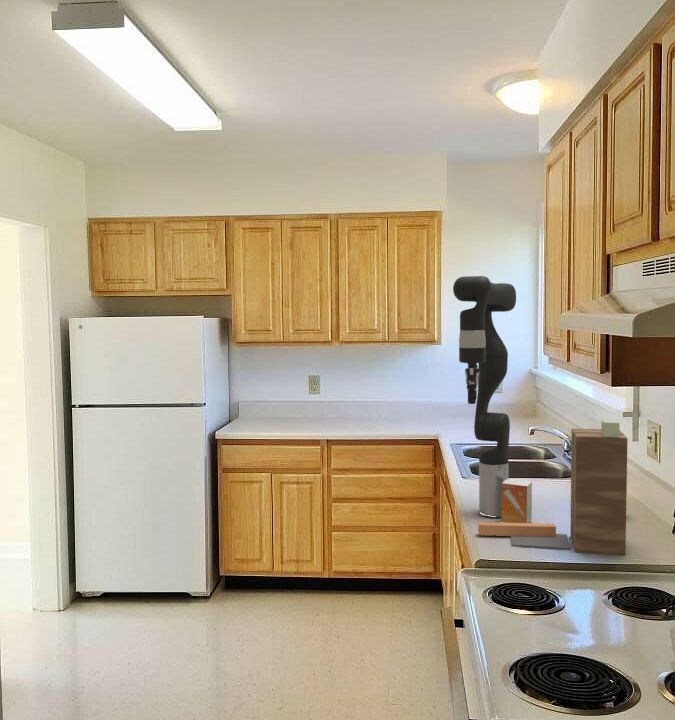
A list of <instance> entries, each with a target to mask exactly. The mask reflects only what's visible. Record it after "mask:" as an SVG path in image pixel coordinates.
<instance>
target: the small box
mask: <svg viewBox="0 0 675 720" xmlns="http://www.w3.org/2000/svg"><path fill="white" fill-rule="evenodd" d="M532 490H533V481H529V480H521V479H509V478H508V479H506V480H505V481H504V482H503V483H502V502H501V518H500V519H501V521H500V523H501V522H503V523H530V522H531V523H532V514H533V513H532V511H533V510H532V507H533V501H532V500H533V492H532Z"/></svg>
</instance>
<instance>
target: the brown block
mask: <svg viewBox="0 0 675 720" xmlns="http://www.w3.org/2000/svg"><path fill="white" fill-rule="evenodd" d="M477 532H479V534H483V535H482V536H493V535H496V536H499V537H500V536H501V537H507V536H508V537H511V536H539V537H556V534H557V526H556V525H555V523H549V522H548V523H546V522H543V523H541V522H540V523H538V522H535V523H534V522H531V523H501V522H499V521H498V522H494V521H493V522H492V521H490V522H489V521H488V522H487V521H478V522H477ZM479 534H478V535H479Z"/></svg>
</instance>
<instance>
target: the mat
mask: <svg viewBox="0 0 675 720" xmlns="http://www.w3.org/2000/svg"><path fill="white" fill-rule="evenodd" d="M510 546H521V547H520V548H527V547H534V548H533V549H544V548H545V549H549V550H565V551H571V550H572V548H571V547H572V546H571V544H570V540H569V537H568V534H567V533H556V537H539V536H510Z"/></svg>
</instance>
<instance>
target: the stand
mask: <svg viewBox="0 0 675 720" xmlns="http://www.w3.org/2000/svg"><path fill="white" fill-rule="evenodd" d="M570 442H571V444H570V447H571V451H570V453H571V454H570V525H569V526H570V527H569V528H570V532H569V533H570V540H572V541H571V544H572V547H573V550H574V552H575V553H585V554H586V553H587V554H602V555H618V556H619V555H621V556H626V553H627V552H626V550H627V549H626V548H627V547H626V543H627V541H626V539H627V534H626V533H627V511H626V508H627V497H628V495H627V492H628V491H627V490H628V488H627V487H628V437H627V436H626V435H625V434H624V432H622V431H621V430H620V429H619V438H613V437H603V436H602V435H601V429H600V428H597V429H596V428H571V440H570Z"/></svg>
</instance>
